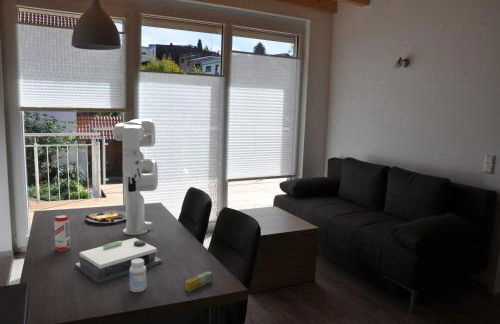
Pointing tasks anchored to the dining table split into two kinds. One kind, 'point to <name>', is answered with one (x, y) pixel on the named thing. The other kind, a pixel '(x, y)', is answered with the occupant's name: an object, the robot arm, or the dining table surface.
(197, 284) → the medication box
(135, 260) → the pill bottle
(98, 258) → the board
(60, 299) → the dining table surface
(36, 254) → the dining table surface
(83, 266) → the level stand
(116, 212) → the food plate
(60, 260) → the dining table surface
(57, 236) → the beer can
